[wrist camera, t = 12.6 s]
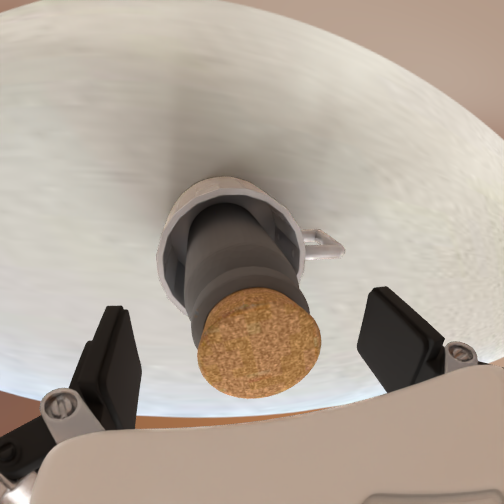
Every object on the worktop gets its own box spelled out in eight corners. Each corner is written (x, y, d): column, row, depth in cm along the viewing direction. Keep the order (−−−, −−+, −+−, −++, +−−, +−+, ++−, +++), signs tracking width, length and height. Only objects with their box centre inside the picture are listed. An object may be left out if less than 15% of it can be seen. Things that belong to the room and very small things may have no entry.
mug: (171, 285, 26) (165, 331, 19) (164, 178, 23) (151, 191, 16) (312, 277, 28) (344, 316, 21) (319, 177, 25) (360, 189, 18)
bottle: (264, 205, 24) (353, 289, 10) (254, 273, 26) (314, 404, 12) (191, 198, 23) (183, 281, 9) (185, 268, 25) (181, 408, 11)
